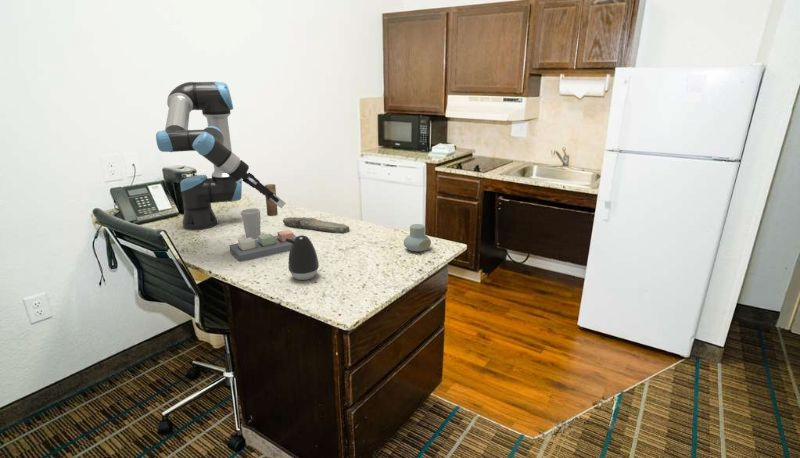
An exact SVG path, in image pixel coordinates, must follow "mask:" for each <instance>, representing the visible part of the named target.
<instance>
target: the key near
mask: <svg viewBox="0 0 800 458" xmlns="http://www.w3.org/2000/svg"><path fill="white" fill-rule="evenodd" d="M254 240H255V239H254ZM254 240H253V239H252V238H251V237H250V238H246V237H245V238H240V239H237V243H238V245H239V248H240V249H241V250H242V251H243V250H248V249H253V248H255V241H254Z"/></svg>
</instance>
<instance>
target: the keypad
mask: <svg viewBox="0 0 800 458" xmlns="http://www.w3.org/2000/svg"><path fill="white" fill-rule="evenodd" d="M273 236H274V237H275V244H272V245H267V246H262V245H261V244H260V243H259V240H258V239H254V241H255V248H253V249H248V250H243V251H242V250H241V249H240V248H239V245H238V242H237V243H232V244H229V245H228V246H229V252H230V253H231V254H232V255H233V256H234V257H235V258H236V259H237V260H238V261H239V262H246V261H250V260H254V259H259V258H263V257H268V256H272V255H276V254H280V253H281V254H282V253H286V252H290V249H291V246H292V244H291V243H289V242H287V241H286V242H281V241H280V240H279V239H278V234H277V235H273ZM296 237H298V236H297V235H295V234H294V239H295V238H296Z"/></svg>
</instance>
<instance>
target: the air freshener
mask: <svg viewBox="0 0 800 458" xmlns="http://www.w3.org/2000/svg"><path fill="white" fill-rule="evenodd" d="M425 231H426V227H425V225H424V224H421V223H413V224H410V226H409V235H407V236H406V237H404V240H403V245H404V247H405V249H407V250H409V251H411V252H415V253H416V252H417V253H422V252H424V251H426V250H427V249H429V248H430V247H431V244H432V241H431V238H429V236H427V235H426V234H425Z"/></svg>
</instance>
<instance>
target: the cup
mask: <svg viewBox="0 0 800 458" xmlns="http://www.w3.org/2000/svg"><path fill="white" fill-rule="evenodd" d="M240 215H241V220H242V222H243V223H242V224H243V229H244V234H245V238H250V237H251V238H252V239H253V240H257V239H258V236H260V235H262V234H261V233H262V232H261V209H260V208H252V207H251V208H246V209H242V210H240Z"/></svg>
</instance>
